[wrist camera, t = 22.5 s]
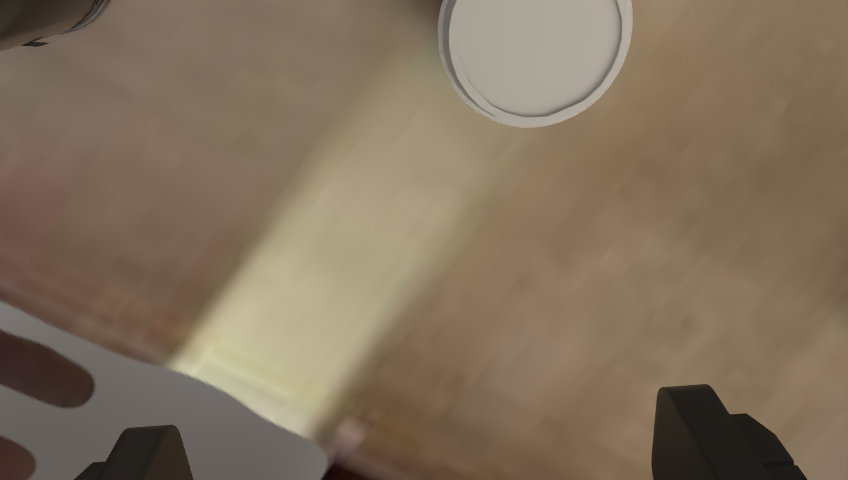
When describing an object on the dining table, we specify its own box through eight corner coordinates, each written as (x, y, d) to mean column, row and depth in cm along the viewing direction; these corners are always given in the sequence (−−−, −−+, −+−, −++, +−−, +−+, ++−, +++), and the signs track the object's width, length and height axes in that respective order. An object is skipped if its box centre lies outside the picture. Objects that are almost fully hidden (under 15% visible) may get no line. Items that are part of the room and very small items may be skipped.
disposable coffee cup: (512, -113, 40) (550, -126, 29) (612, 7, 43) (681, 36, 32) (400, 7, 43) (396, 36, 32) (501, 112, 46) (530, 172, 35)
